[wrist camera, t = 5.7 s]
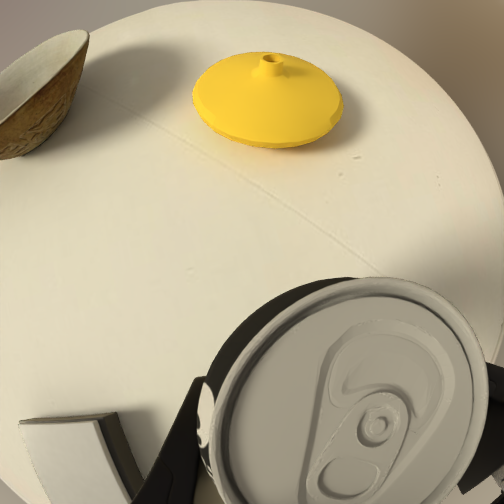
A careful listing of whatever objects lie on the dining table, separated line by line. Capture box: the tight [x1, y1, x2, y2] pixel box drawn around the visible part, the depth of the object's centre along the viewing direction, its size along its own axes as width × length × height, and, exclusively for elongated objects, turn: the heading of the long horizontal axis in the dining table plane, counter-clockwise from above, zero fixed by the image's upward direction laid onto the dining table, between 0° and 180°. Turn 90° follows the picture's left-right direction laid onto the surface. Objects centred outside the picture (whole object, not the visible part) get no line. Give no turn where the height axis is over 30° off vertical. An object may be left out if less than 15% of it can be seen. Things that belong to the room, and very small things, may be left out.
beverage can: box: [197, 277, 489, 504], centre depth 9 cm, size 7×7×12 cm
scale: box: [18, 412, 144, 504], centre depth 14 cm, size 10×10×3 cm
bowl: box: [0, 30, 90, 160], centre depth 24 cm, size 24×24×10 cm
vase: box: [193, 52, 344, 148], centre depth 25 cm, size 16×16×7 cm
